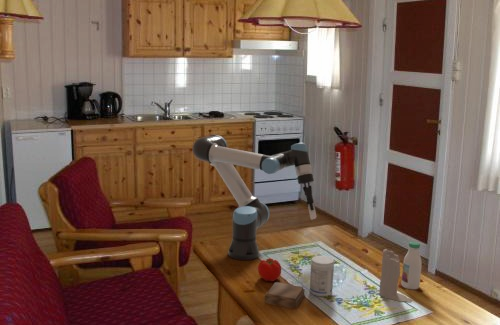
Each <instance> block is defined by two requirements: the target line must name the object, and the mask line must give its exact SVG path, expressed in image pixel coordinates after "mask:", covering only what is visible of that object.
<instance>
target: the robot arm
mask: <svg viewBox="0 0 500 325" xmlns="http://www.w3.org/2000/svg"><path fill="white" fill-rule="evenodd" d="M227 143H228V142H227V141H226V139H225V138H224V137H222V136H221V135H218V134H211V135H210V134H209V135H207V136H201V137H200V138H198V139H196V140H195V141H194V142H193V145H192V154H193V155H194V157H195V158H196V159H197V160H199V161H202V162H208V164H209V165H210V166H212V167H215V169H216V172H217V173H218V174H219V176H220V178H221V179H222V180H223V183H224V184H225V185H226V187H227V188H228V190H229V191H230V194H231V195H232V196H233V198H234V199H235V201H236V203H237V205H238V207H237V208H235V209H234V211H233V213H232V214H233V215H232V239H231V242H230V245H229V247H228V253H227V254H228V256H229V257H230V258H232V259H234V260H239V261H251V260H256V259H257V258H259V256H260V249H259V247H258V242H257V230H258V229H259V228H261V227H262V226H264V225H266V223H267V222H268V220H269V219H270V209H269V208H268V206H267V205H266V204H265V203H263V202H261V201H260V200H259V198H258V197H257V196H254V195H253V194H252V192H251V191H250V189H249V187H248V186H247V185H246V183H245V182H244V180H243V178H242V177H241V175H240V173H239V172H238V170H237V169H236V167H235V166H239V167H243V168H247V169H254V170H259V171H263V172H264V173H265V174H268V175H271V174H276V173H277V172H278V171H281V170H282V169H283V170H284V169H285V168H288V167H292V166H294V169H295V174H296V176H297V177H296V179H297V183H298V185H303V187H302V189H303V192H304V195H305V198H306V205H307V210H308V212H309V218H310V220H314V219H317V217H318V216H317V213H316V207H315V203H314V198H313V190H312V189H313V188H312V185H310V184H311V183H313V182H314V175H313V174H312V172H313V170H312V169H313V166H311V162H310V157H309V152H308V151H309V150H308V148H307V144H306V143H305V142H298V143H297V142H296V143H293V144H292V145H290V150H287V151H283V152H279V153H275V154H272V155H266V154H262V153H257V152H252V151H246V150H242V149H236V148H231V147H228V144H227Z"/></svg>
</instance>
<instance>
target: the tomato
mask: <svg viewBox="0 0 500 325" xmlns="http://www.w3.org/2000/svg"><path fill="white" fill-rule="evenodd" d="M257 266H258V267H257V268H258V269H257V270H258V274H259V276H260V277H261V279H263V280H264V281H266V282H275V281H276V280H277V279H278V278H279V277H280V276H281V275H282V266H281V263H280V262H279V261H278V260H277V259H273V258H265V259H263V260H261V261H260V262H259V263H258V265H257Z"/></svg>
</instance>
